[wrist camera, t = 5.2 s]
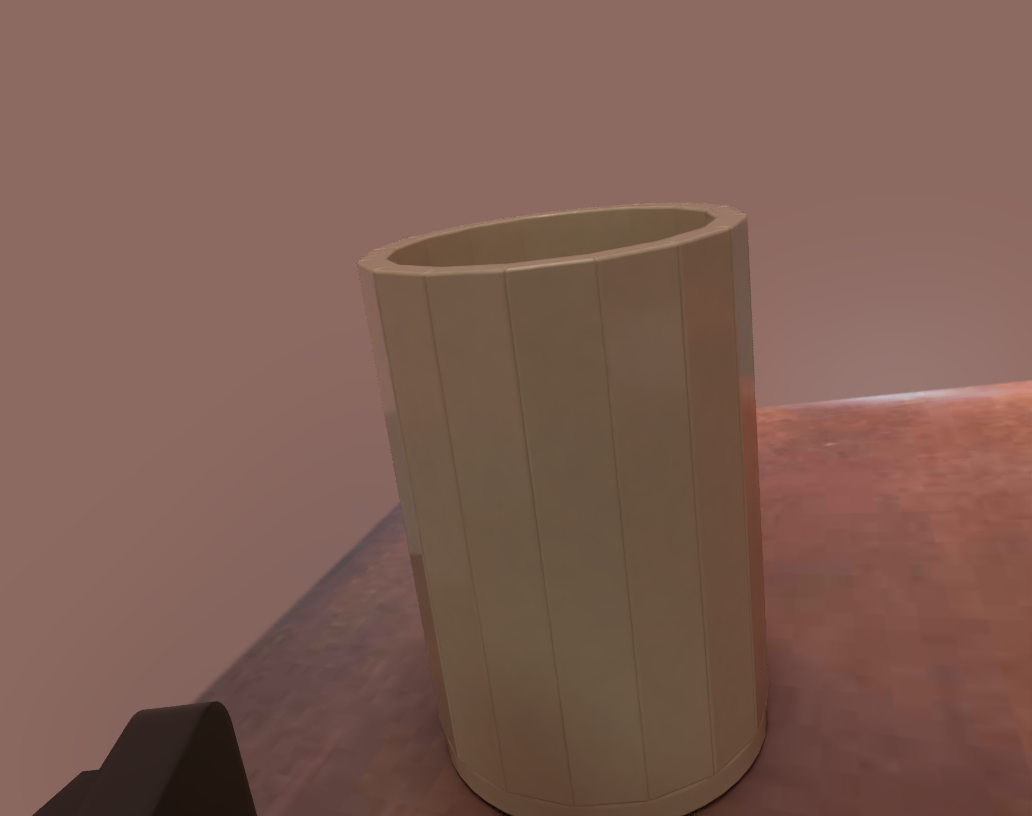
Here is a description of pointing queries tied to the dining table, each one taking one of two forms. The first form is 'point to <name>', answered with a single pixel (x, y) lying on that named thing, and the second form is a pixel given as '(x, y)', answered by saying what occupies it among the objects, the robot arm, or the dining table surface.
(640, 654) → the cup
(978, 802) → the dining table surface
